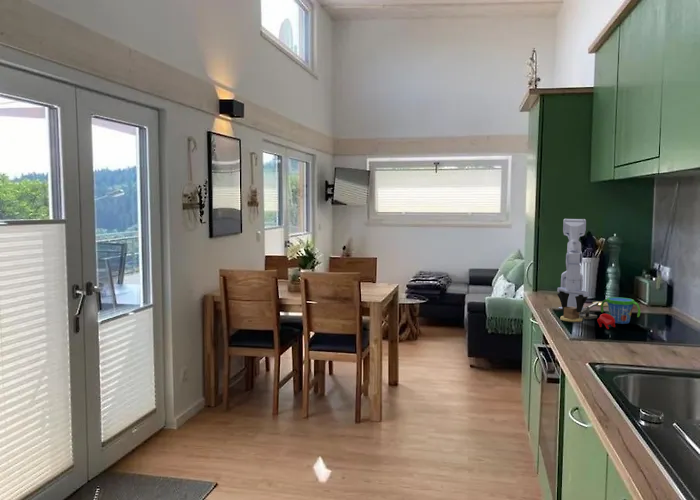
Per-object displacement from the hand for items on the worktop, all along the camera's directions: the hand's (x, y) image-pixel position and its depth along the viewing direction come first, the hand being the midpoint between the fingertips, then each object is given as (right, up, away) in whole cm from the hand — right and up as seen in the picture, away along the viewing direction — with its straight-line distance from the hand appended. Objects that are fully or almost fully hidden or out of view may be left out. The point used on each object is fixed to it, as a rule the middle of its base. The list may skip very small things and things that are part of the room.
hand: (571, 310), depth 243 cm
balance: (+9, -4, +5) cm, 11 cm away
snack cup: (+19, -5, -4) cm, 20 cm away
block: (0, -3, 0) cm, 3 cm away
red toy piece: (+9, -6, -14) cm, 18 cm away
